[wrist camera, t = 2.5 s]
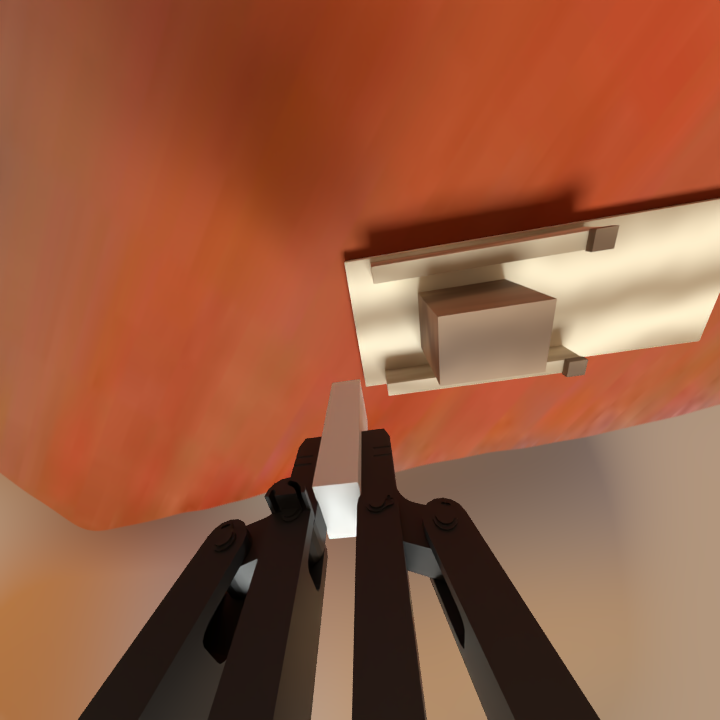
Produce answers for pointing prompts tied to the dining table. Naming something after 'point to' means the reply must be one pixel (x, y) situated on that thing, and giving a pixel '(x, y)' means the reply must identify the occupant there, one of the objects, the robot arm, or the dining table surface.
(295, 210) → the dining table surface
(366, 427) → the robot arm
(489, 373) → the walnut block
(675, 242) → the railed wooden board
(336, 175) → the dining table surface
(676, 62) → the dining table surface
